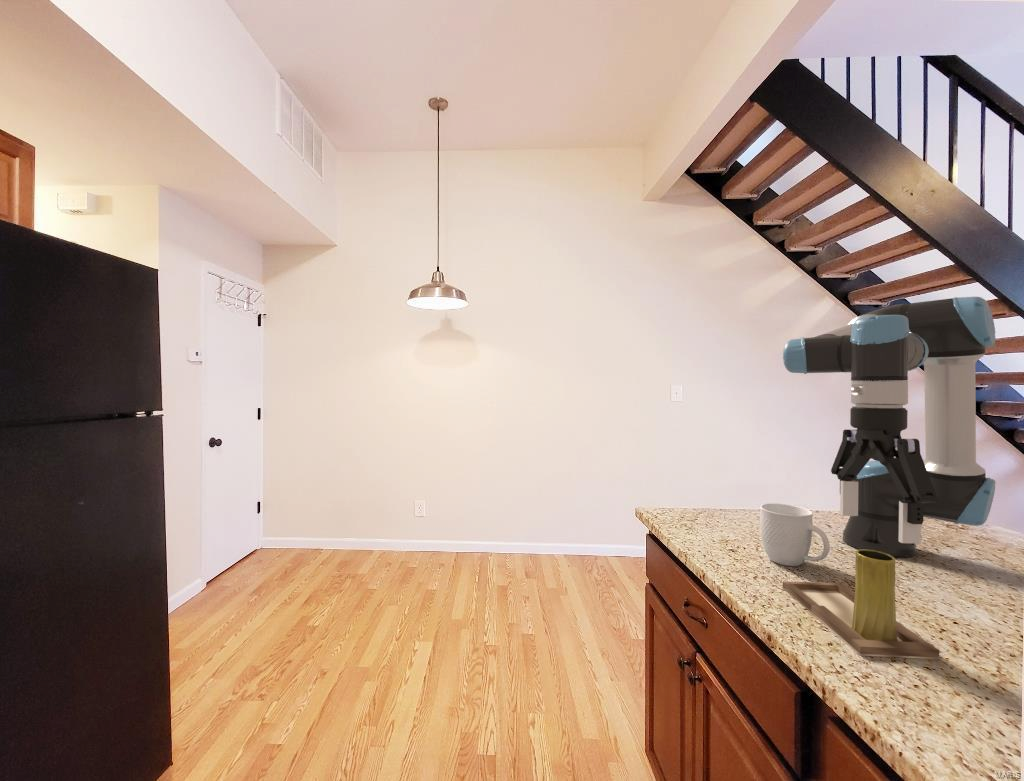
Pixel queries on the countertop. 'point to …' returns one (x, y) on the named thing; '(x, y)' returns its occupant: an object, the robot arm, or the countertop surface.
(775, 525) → the mug
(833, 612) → the shallow serving tray
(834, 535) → the countertop surface
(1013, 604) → the countertop surface
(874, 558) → the vase
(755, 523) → the countertop surface
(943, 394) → the robot arm
